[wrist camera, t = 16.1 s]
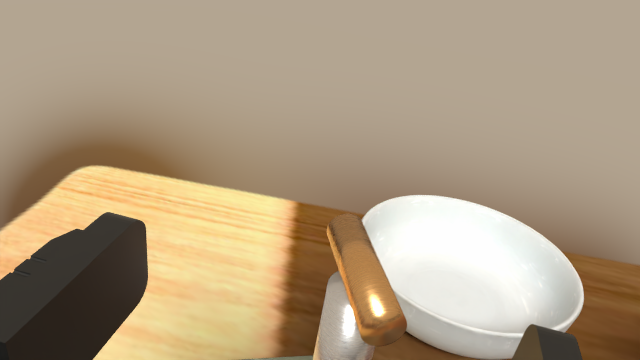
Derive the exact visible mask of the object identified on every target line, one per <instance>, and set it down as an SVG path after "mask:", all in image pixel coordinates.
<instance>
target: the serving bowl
mask: <svg viewBox="0 0 640 360" xmlns="http://www.w3.org/2000/svg"><path fill="white" fill-rule="evenodd" d="M362 222H363V224H364V226H365V229H366V231H367V233H368V235H369V238H370V240H371V242H372V244H373V247H374V249H375V251H376V253H377V256H378V258H379V260H380V262H381V265H382V267H383V269H384V271H385V273H386V276H387V278H388V280H389V282H390V285H391V287H392V289H393V291H394V294H395V296H396V298H397V300H398V303H399V305H400V307H401V309H402V311H403V314H404V316H405V318H406V321H407V328H406V331H407V332H408V333H410V334H411V335H413V336H414V337H416V338H418V339H419V340H421V341H423V342H425V343H427V344H429V345H431V346H434V347H436V348H438V349H441V350H444V351H446V352H450V353H453V354H457V355H460V356H465V357H471V358H477V359H488V360H496V359H509V358H513V355H514V353H515V351H516V349H517V347H518V345H519V343H520V341H521V339H522V337H523V334H524V332H525V330H526V329H527V327H528V326H529V325H531V324H534V325H538V326H542V327H546V328H549V329H553V330H557V331H560V332H565V331H566V330H567V329H568V328H569V327H570V326H571V325H572V323H573V322H574V321H575V320H576V318H577V317H578V315H579V314H580V311H581V309H582V306H583V301H584V292H583V287H582V283H581V280H580V278H579V276H578V274H577V272H576V270H575V268H574V267H573V265H572V264H571V263H570V261H569V260H568V259H567V257H566V256H565V255H564V254H563V253H562V252H561V251H560V250H559V249H558V248H557V247H556V246H555V245H553V244H552V243H551V242H550V241H549V240H547V239H546V238H545V237H544V236H542V235H541V234H539V233H538V232H536V231H535V230H533V229H532V228H530V227H528V226H527V225H525V224H523V223H522V222H519V221H518V220H516V219H514V218H512V217H510V216H508V215H505V214H503V213H501V212H498V211H496V210H493V209H491V208H488V207H485V206H482V205H479V204H475V203H472V202H468V201H464V200H459V199H455V198H449V197H442V196H433V195H411V196H403V197H397V198H393V199H390V200H387V201H384V202H382V203H379V204H378V205H376V206H374V207H373V208H372V209H370V210H369V211H368V212H367V213H366V215H365V216H364V217H363V219H362Z"/></svg>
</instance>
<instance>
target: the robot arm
mask: <svg viewBox="0 0 640 360" xmlns="http://www.w3.org/2000/svg"><path fill="white" fill-rule="evenodd" d="M147 281H148V266H147V243H146V227H145V224H144V223H143V222H142V221H140V220H137V219H133V218H129V217H125V216H122V215H118V214H114V213H110V212H107V213H104V214H103V215H101V216H100V217H99V218H97V219H96V220H95V221H94V222H93V223H91V224H90V225H89V226H88V227H87V228H85V229H84V230H80V229H75V230H73V231H70V232H68V233H66V234H64V235H61V236H59V237H57V238H54V239H52V240H50V241H49V242H48V243H46V244H45V245H44V246H43V247H41V248H40V249H39V250H38V251H36V252H35V253H34V254H33V255H31V258H30V259H26V260H25V261H24V262H23V263H21V264H20V265H19V266H18V267H16V268H15V269H14V272H13V273H9V274H7V275H6V276H5V277H4V278H2V279H1V280H0V360H93V358H94V357H95V356H96V355H97V353H98V352H99V351H100V350H101V349H102V347H103V346H104V345H105V344H106V343H107V341H108V340H109V339H110V338H111V336H112V335H113V334H114V333H115V332H116V330H117V329H118V328H119V327H120V326H121V324H122V323H123V322H124V321H125V319H126V318H127V317H128V316H129V315H130V313H131V312H132V311H133V310H134V309H135V307H136V306H137V305H138V303H139V302H140V300H141V298H142V297H143V294H144V292H145V289H146V286H147ZM512 360H582V356H581V353H580V350H579V346H578V343H577V340H576V338H575V337H574V336H573V335H572V334H568V333H564V332H560V331H557V330H553V329H549V328H546V327H542V326H538V325H534V324H531V325H529V326H528V327H527V329H526V330H525V332H524V334H523V337H522V339H521V341H520V343H519V345H518V347H517V349H516V351H515V353H514V355H513V358H512Z"/></svg>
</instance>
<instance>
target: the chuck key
mask: <svg viewBox="0 0 640 360" xmlns="http://www.w3.org/2000/svg"><path fill="white" fill-rule="evenodd" d="M327 236H328V239H329V242H330V245H331V248H332V251H333V254H334V257H335V260H336V263H337V266H338V269H339V271H337V272H336V273H334V274H333V275H332V276H331V277H330V278H329V281H328V285H327V290H326V295H325V300H324V305H323V310H322V315H321V321H320V326H319V331H318V336H317V341H316V346H315V351H314V356H313V360H371V359H372V356H373V352H374V349H375V346H384V345H388V344H391V343H393V342H395V341H396V340H398V339H399V338H400V337H401V336H402V335H403V334H404V333H405V331H406V328H407V321H406V318H405V316H404V314H403V311H402V309H401V307H400V305H399V303H398V300H397V298H396V296H395V294H394V291H393V289H392V287H391V285H390V282H389V280H388V278H387V276H386V273H385V271H384V269H383V267H382V265H381V262H380V260H379V258H378V256H377V253H376V251H375V249H374V247H373V244H372V242H371V240H370V238H369V235H368V233H367V231H366V229H365V226H364V224H363V222H362V220H361V219H360V218H359V217H358V216H356V215H353V214H342V215H339V216H337V217H336V218H334V219H333V220H332V221H331V222H330V223H329V225H328V227H327Z"/></svg>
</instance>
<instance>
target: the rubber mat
mask: <svg viewBox="0 0 640 360" xmlns="http://www.w3.org/2000/svg"><path fill="white" fill-rule="evenodd" d="M243 360H313V356H296V357H279V358H261V359H243Z"/></svg>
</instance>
